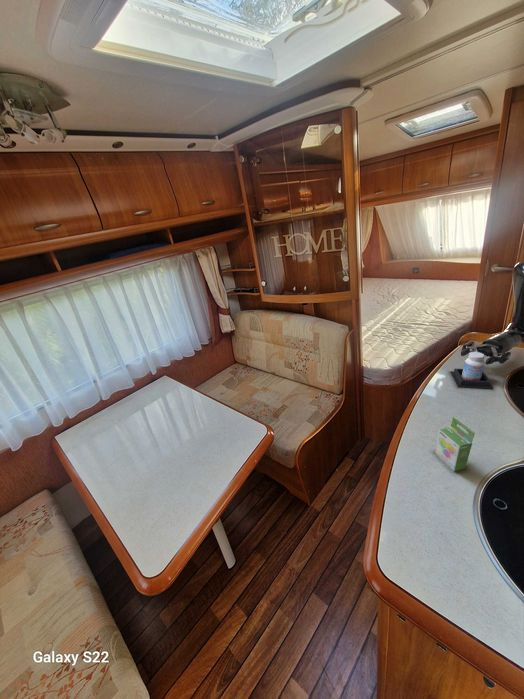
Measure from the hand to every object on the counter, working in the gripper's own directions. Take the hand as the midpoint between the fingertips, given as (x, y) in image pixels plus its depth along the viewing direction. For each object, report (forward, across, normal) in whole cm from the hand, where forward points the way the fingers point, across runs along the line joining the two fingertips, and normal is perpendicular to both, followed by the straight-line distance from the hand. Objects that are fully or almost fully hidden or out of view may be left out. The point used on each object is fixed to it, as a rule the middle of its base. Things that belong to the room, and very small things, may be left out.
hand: (474, 357), depth 103 cm
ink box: (+41, +18, +11) cm, 47 cm away
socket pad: (-1, 0, +11) cm, 11 cm away
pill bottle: (-1, 0, +10) cm, 10 cm away
